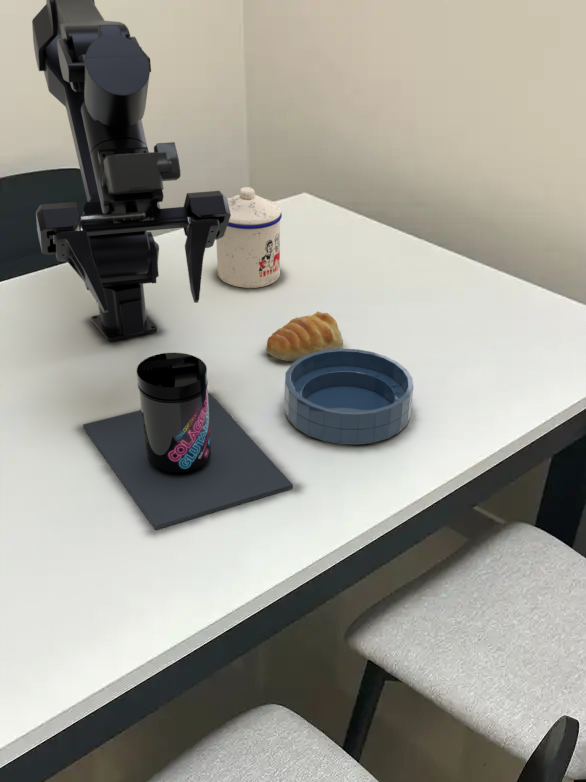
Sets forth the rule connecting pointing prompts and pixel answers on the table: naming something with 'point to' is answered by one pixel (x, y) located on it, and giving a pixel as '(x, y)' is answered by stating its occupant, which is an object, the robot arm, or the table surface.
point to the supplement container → (175, 412)
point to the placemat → (193, 491)
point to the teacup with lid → (250, 242)
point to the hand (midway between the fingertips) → (151, 306)
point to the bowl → (348, 396)
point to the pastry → (305, 337)
